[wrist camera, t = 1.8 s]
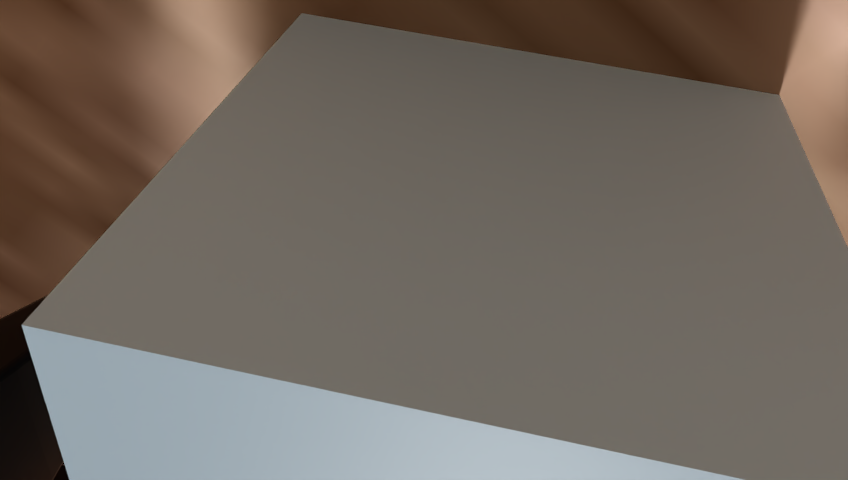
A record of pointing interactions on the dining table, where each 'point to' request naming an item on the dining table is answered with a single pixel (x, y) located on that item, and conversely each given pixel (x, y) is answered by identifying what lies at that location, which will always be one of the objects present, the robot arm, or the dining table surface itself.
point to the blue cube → (459, 281)
